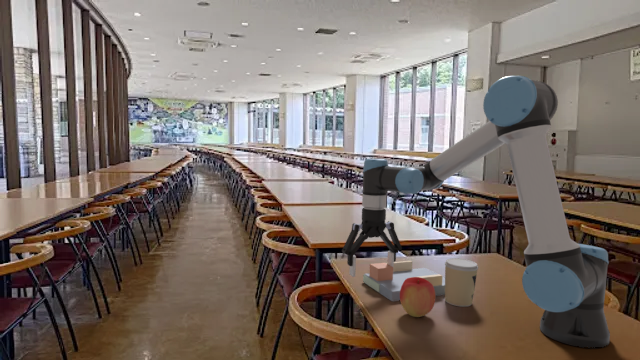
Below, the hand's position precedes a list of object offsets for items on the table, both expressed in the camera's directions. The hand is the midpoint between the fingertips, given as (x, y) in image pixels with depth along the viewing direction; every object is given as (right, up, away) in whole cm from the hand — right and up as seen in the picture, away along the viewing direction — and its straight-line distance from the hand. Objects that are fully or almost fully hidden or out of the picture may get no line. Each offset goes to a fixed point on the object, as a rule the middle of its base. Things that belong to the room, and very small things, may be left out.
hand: (371, 273), depth 141 cm
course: (+13, -5, +2) cm, 14 cm away
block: (+3, -2, +2) cm, 4 cm away
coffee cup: (+25, -6, -10) cm, 27 cm away
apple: (+10, -7, -21) cm, 24 cm away
